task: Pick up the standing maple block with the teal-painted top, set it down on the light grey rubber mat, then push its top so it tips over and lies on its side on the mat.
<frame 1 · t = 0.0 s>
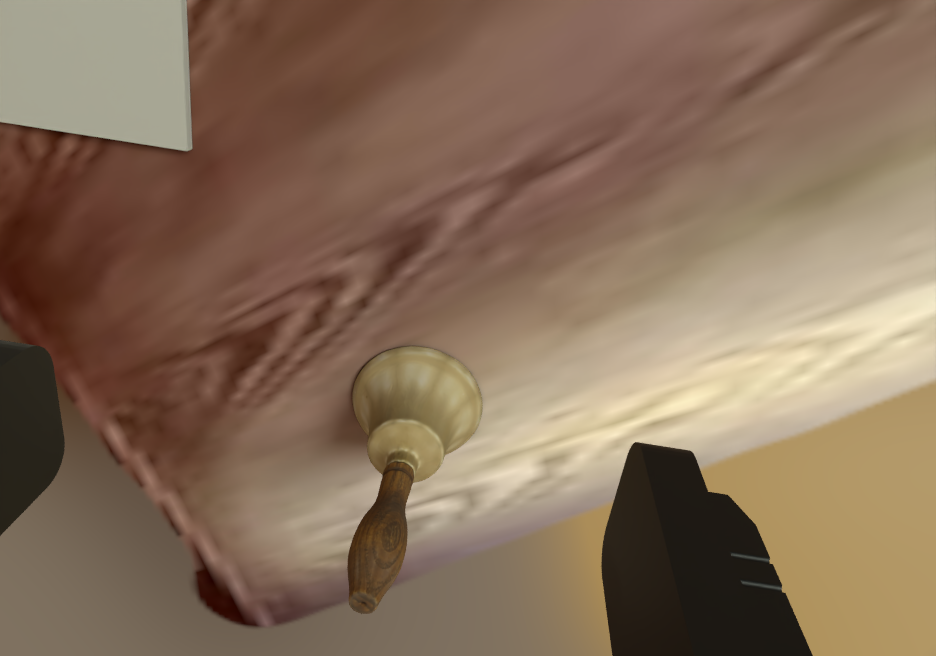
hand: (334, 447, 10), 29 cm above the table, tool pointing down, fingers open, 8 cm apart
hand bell: (418, 401, 44), on the table
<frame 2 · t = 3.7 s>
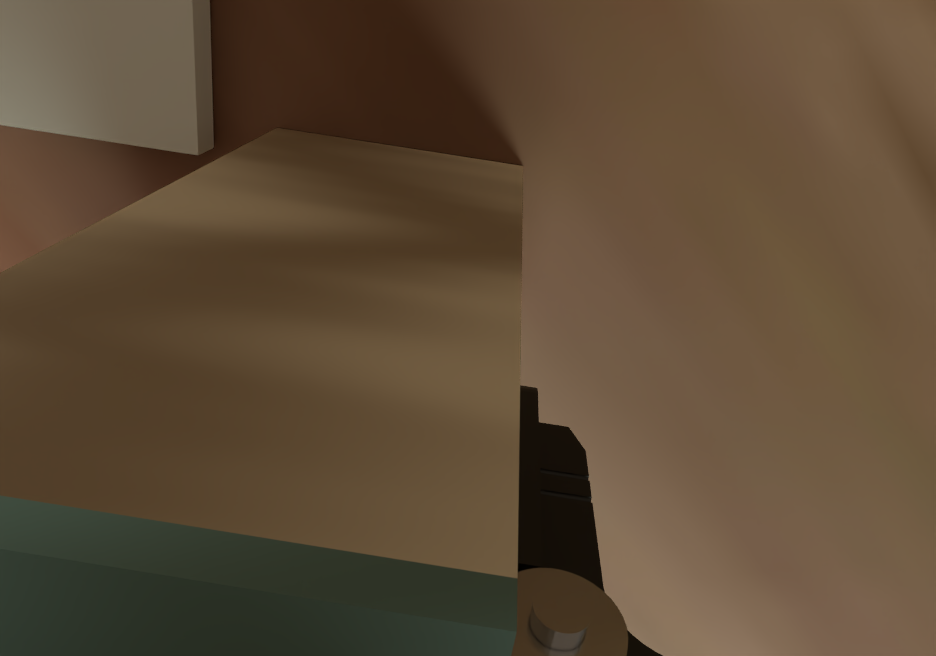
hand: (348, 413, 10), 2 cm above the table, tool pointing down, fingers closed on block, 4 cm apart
block: (382, 339, 13), on the table, touching gripper
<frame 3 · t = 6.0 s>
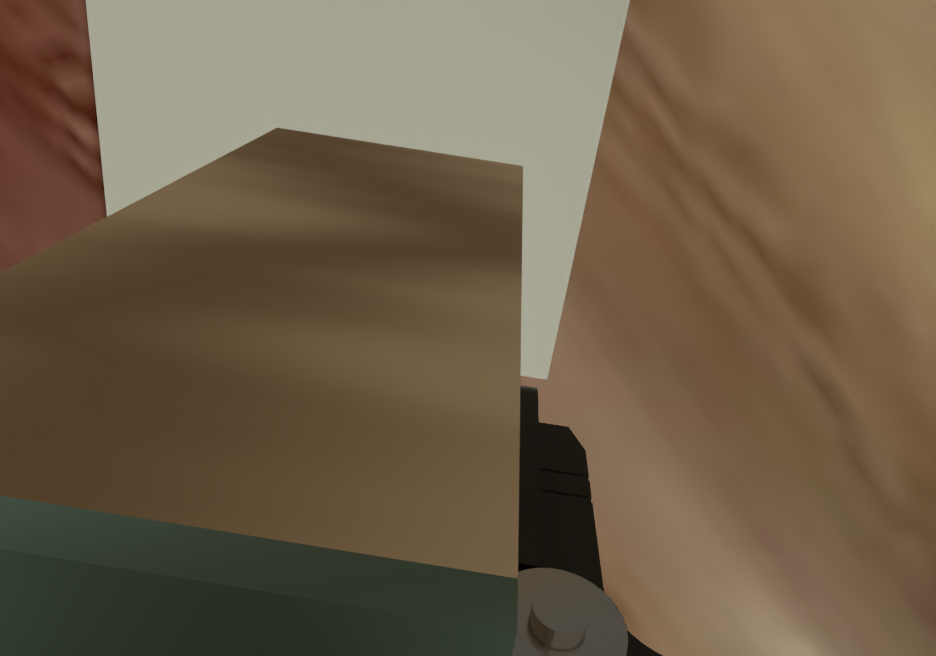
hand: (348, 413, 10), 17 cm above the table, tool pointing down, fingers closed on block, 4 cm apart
block: (381, 339, 13), point 14 cm above the table, touching gripper
mat: (345, 148, 25), on the table
when the fingers open (4 cm above the table, at t = 8.6 s): block stays where it is, resting on mat.
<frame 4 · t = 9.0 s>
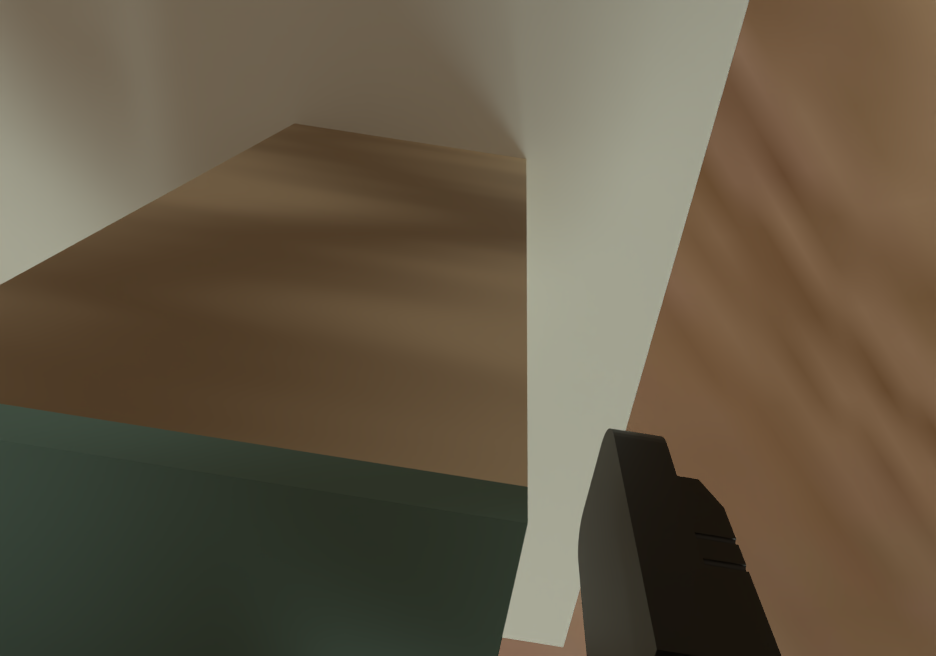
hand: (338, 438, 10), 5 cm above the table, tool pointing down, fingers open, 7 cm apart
block: (392, 324, 13), point 1 cm above the table, touching mat
mat: (196, 277, 14), on the table
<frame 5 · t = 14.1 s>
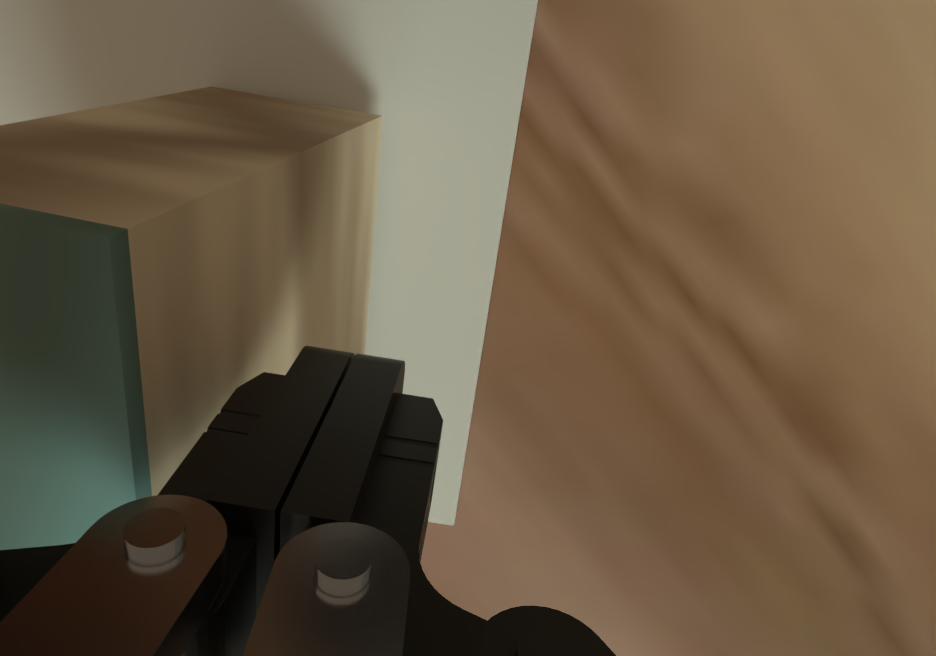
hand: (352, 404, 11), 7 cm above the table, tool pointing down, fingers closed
block: (292, 250, 17), point 1 cm above the table, tilted 7°, touching mat
mat: (143, 213, 17), on the table
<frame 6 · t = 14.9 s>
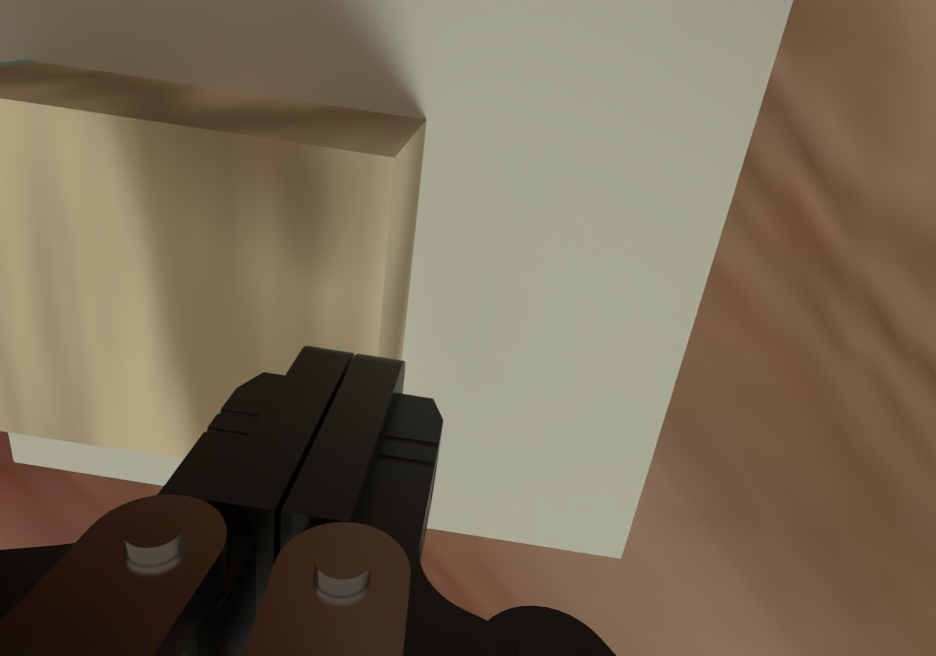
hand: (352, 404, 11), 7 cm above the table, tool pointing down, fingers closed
block: (397, 300, 15), point 3 cm above the table, tilted 90°, touching mat
mat: (333, 245, 17), on the table
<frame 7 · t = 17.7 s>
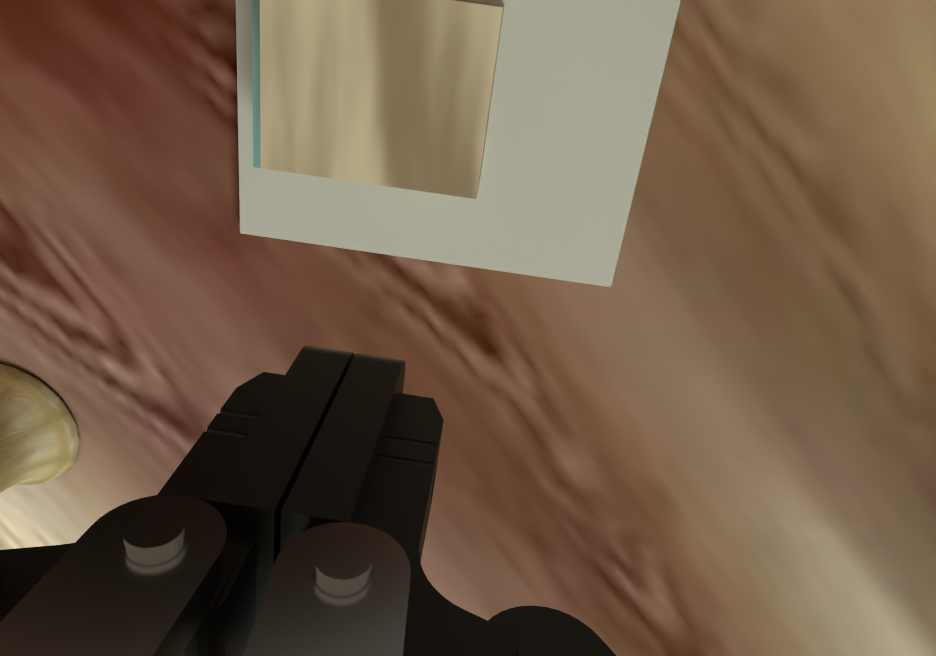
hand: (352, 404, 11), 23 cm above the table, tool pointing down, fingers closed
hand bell: (12, 421, 40), on the table
block: (490, 101, 28), point 3 cm above the table, tilted 90°, touching mat
mat: (445, 84, 30), on the table
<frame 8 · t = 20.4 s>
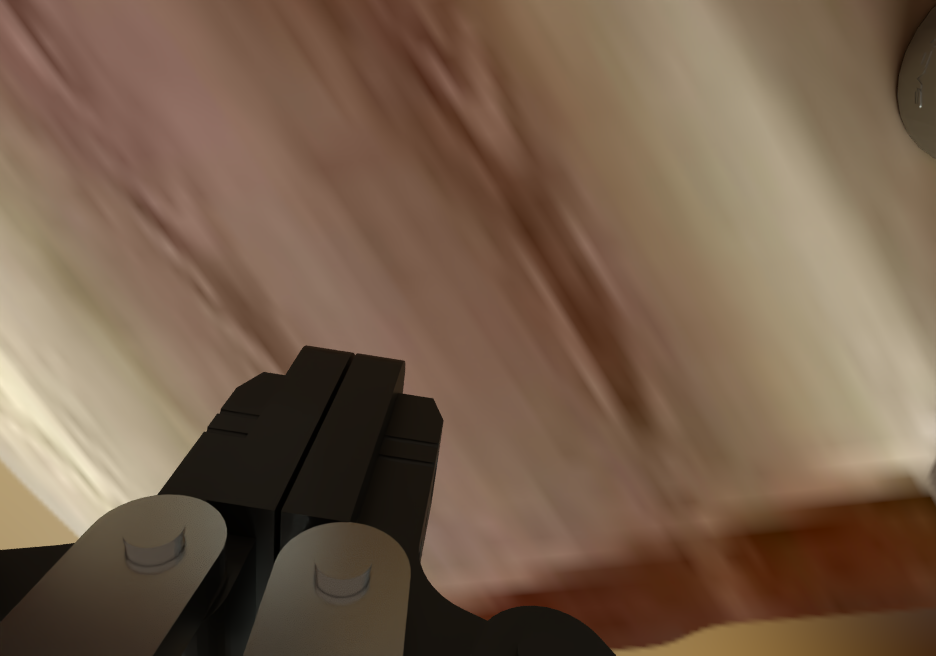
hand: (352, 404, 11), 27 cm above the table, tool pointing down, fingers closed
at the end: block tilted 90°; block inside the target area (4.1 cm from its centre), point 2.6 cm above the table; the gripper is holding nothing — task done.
